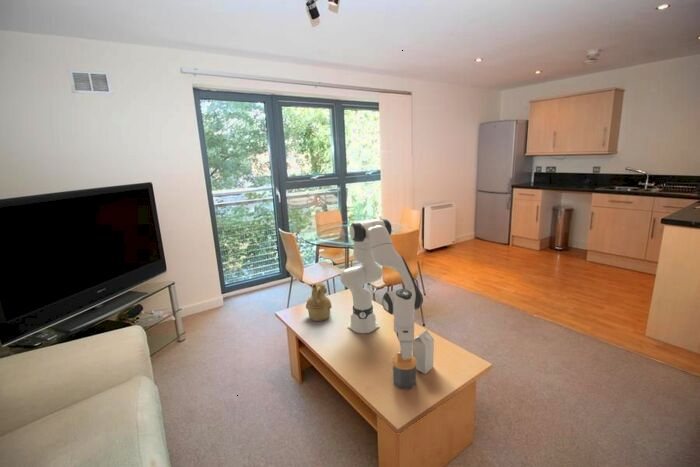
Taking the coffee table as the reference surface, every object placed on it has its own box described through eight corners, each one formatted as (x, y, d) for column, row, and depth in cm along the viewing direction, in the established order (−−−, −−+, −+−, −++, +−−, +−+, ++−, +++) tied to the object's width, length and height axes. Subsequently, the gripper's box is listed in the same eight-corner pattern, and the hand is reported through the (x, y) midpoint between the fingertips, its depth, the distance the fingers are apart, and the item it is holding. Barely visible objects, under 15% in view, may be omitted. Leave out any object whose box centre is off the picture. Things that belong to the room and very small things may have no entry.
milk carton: (412, 367, 152) (412, 332, 147) (420, 361, 157) (420, 326, 152) (425, 374, 147) (425, 337, 142) (433, 367, 152) (434, 331, 147)
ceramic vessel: (334, 310, 214) (332, 275, 208) (328, 325, 195) (326, 287, 190) (310, 309, 217) (307, 275, 211) (302, 324, 198) (299, 286, 192)
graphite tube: (392, 374, 148) (392, 355, 145) (413, 374, 147) (413, 355, 145) (394, 389, 138) (394, 369, 136) (416, 389, 137) (416, 369, 135)
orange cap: (390, 358, 146) (390, 345, 145) (414, 358, 146) (414, 344, 144) (392, 374, 136) (392, 359, 134) (418, 374, 135) (418, 359, 134)
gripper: (394, 315, 147) (394, 342, 150) (398, 339, 127) (399, 370, 130) (408, 315, 146) (408, 342, 149) (414, 339, 126) (414, 370, 130)
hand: (404, 355), depth 140 cm, fingers open, 3 cm apart
